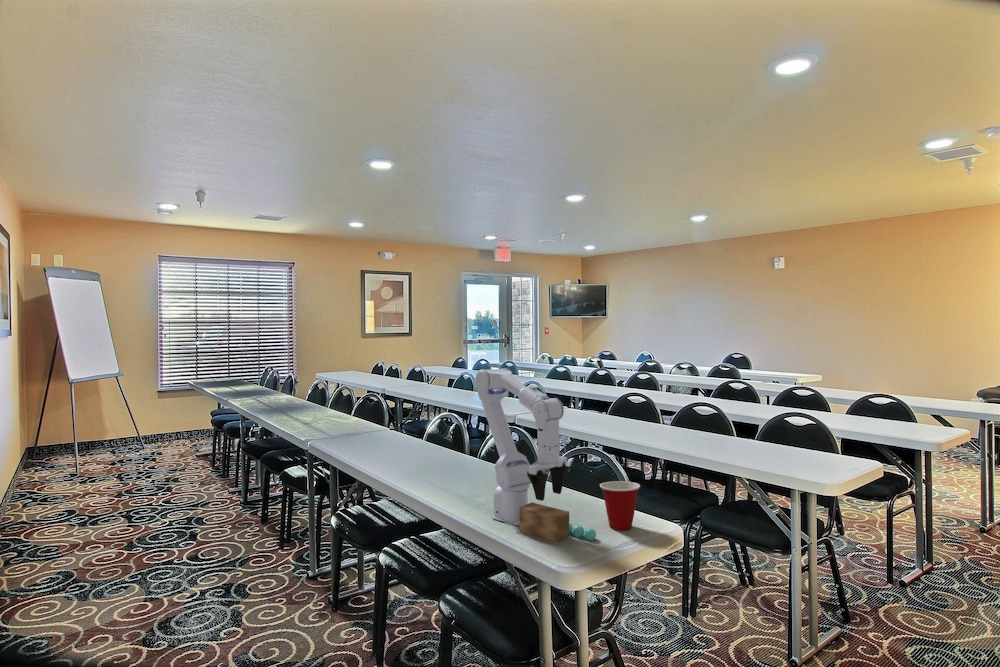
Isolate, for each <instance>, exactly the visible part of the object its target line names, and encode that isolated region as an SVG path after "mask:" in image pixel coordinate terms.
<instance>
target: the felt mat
mask: <svg viewBox="0 0 1000 667" xmlns="http://www.w3.org/2000/svg"><path fill="white" fill-rule="evenodd" d="M515 533H516V534H519V535H522V536H525V537H529V538H532V539H536V540H539V541H542V542H546V543H548V544H553V545H556V546H558V545H560V544H561V543H564V542H565V541H567V540H569V539H571V538H573V536H572V535H569V537H568V538H566V539H564V540H562V541H560V542H558V543H555V542H552V541H549V540H545V539H542V538H539V537H535V536H532V535H528V534H525V533H522V532H520V530H518V531H516V532H515Z"/></svg>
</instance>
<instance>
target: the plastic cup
mask: <svg viewBox="0 0 1000 667" xmlns="http://www.w3.org/2000/svg"><path fill="white" fill-rule="evenodd" d="M599 486H600V489H601V491H602V494H603V498H604V499H603V500H604V504H605V510H606V516H607V520H608V526H609V528H610V529H612V530H614V531H618V532H627V531H630V530H631V529H632V527H633V522H634V517H635V511H636V504H637V498H638V494H639V490H640V487H641V485H640V484H639V483H637V482H632V481H622V480H621V481H619V480H618V481H617V480H616V481H615V480H613V481H606V482H602V483H599Z"/></svg>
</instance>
